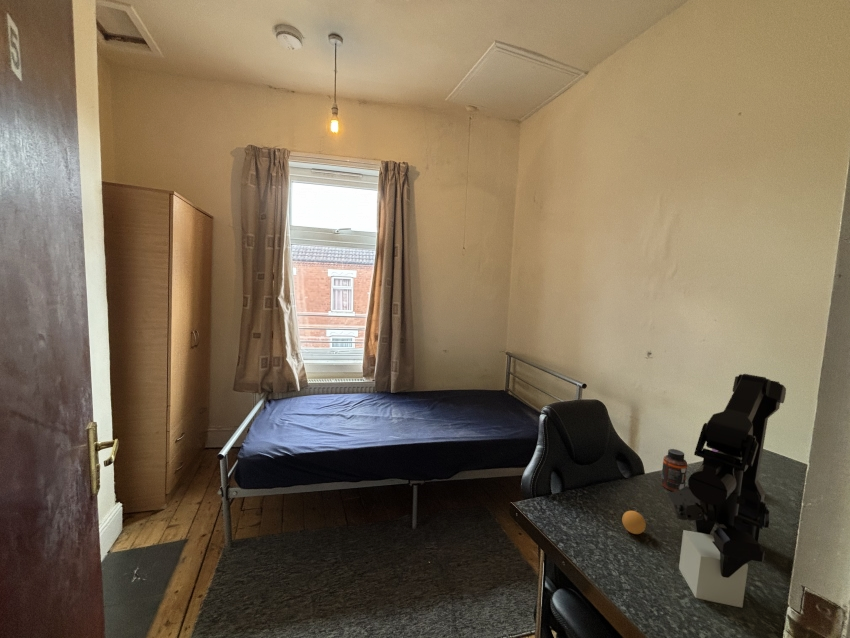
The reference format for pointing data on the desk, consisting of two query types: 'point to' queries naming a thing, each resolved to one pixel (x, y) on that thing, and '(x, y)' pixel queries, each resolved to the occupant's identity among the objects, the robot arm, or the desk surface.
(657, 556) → the desk surface
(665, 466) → the supplement bottle
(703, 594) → the plain beige cube
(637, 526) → the ball
